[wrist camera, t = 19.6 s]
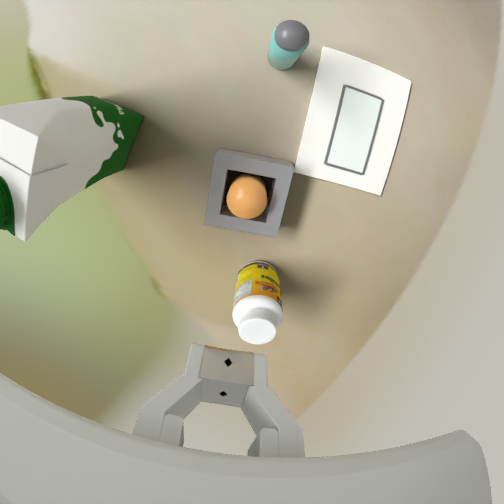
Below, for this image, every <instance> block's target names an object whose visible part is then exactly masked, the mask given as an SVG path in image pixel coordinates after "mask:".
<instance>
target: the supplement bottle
mask: <svg viewBox="0 0 504 504" xmlns="http://www.w3.org/2000/svg"><path fill="white" fill-rule="evenodd" d="M282 318H283V310H282V299H281V288H280V278H279V274H278V272H277V270H276V269H275V268H274V267H273V266H272V265H271V264H269V263H266V262H262V261H254V262H250V263H248V264H246V265H244V266H243V267H242V268H241V269H240V271H239V273H238V276H237V282H236V290H235V298H234V305H233V320H234V323H235V324H236V326H237V327H238V328H239V335H240V337H241V338H242V339H243V340H245V341H246V342H248V343H251V344H264V343H267V342H269V341H271V340H272V339H273V338H274V337H275V335H276V332H277V327H278V326H279V325H280V324H281V322H282Z"/></svg>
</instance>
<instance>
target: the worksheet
mask: <svg viewBox="0 0 504 504" xmlns="http://www.w3.org/2000/svg"><path fill="white" fill-rule="evenodd" d="M410 86H411V81H410V80H408V79H406V78H404V77H402V76H400V75H398V74H395V73H393V72H391V71H389V70H387V69H384V68H382V67H380V66H377V65H375V64H373V63H370V62H368V61H365V60H362V59H360V58H357V57H354V56H352V55H349V54H346V53H343V52H340V51H337V50H334V49H331V48H328V47H324V46H323V47H322V51H321V56H320V61H319V65H318V70H317V74H316V79H315V83H314V87H313V92H312V96H311V100H310V105H309V109H308V113H307V118H306V122H305V126H304V130H303V134H302V139H301V143H300V147H299V151H298V155H297V159H296V163H295V167H294V171H293V172H294V173H299V174H303V175H307V176H311V177H315V178H319V179H323V180H327V181H331V182H335V183H338V184H342V185H346V186H349V187H353V188H356V189H360V190H363V191H367V192H370V193H373V194H377V195H380V196H381V193H382V190H383V187H384V184H385V181H386V178H387V174H388V171H389V168H390V165H391V162H392V158H393V155H394V151H395V148H396V144H397V141H398V137H399V133H400V129H401V126H402V122H403V118H404V114H405V109H406V105H407V101H408V96H409V91H410Z"/></svg>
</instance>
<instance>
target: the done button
mask: <svg viewBox="0 0 504 504" xmlns="http://www.w3.org/2000/svg"><path fill="white" fill-rule="evenodd" d="M227 205H228V208H229V209H230V211H231V212H232V213H233V214H234V215H235V216H237V217H239V218H243V219H251V218H255V217H257V216H259V215H260V214H261V213H262V212H263V211H264V209H265V207H266V205H267V192H266V185H265V183H264V181H263V180H262V179H261V178H260V177H259V176H257V175H255V174H251V173H244V174H241V175H239V176H237V177H236V178H235V179H234V180H233V181H232V183H231V186H230V189H229V191H228V194H227Z"/></svg>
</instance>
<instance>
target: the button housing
mask: <svg viewBox="0 0 504 504" xmlns="http://www.w3.org/2000/svg"><path fill="white" fill-rule="evenodd" d="M229 170H235V171H240V172H246V173H251V174H256V175H261V176H266V177H271V178H273V182H272V187H271V191H270V195H269V200H268V204H267V208H266V213H264V212H262V213H261V214H260V215H259V216H257V217H255V218H251V219H243V218H239V217H237V216H235V215H234V214H233V213H232V212H231V211H230V209H229V208H228V206H227V205H223V203H224V197H225V191H226V185H227V179H228V173H229ZM293 171H294V166H293V165H292V163H291V162H288V161H284V160H279V159H274V158H270V157H265V156H260V155H255V154H249V153H244V152H239V151H233V150H227V149H221V148H219V149H218V150H217V151H216V152H215V155H214V161H213V167H212V174H211V180H210V187H209V194H208V201H207V208H206V215H205V223H204V225H209V226H215V227H220V228H226V229H232V230H237V231H242V232H248V233H253V234H259V235H264V236H269V237H274V238H277V234H278V230H279V226H280V222H281V219H282V215H283V211H284V207H285V203H286V199H287V195H288V191H289V187H290V183H291V179H292V175H293Z"/></svg>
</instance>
